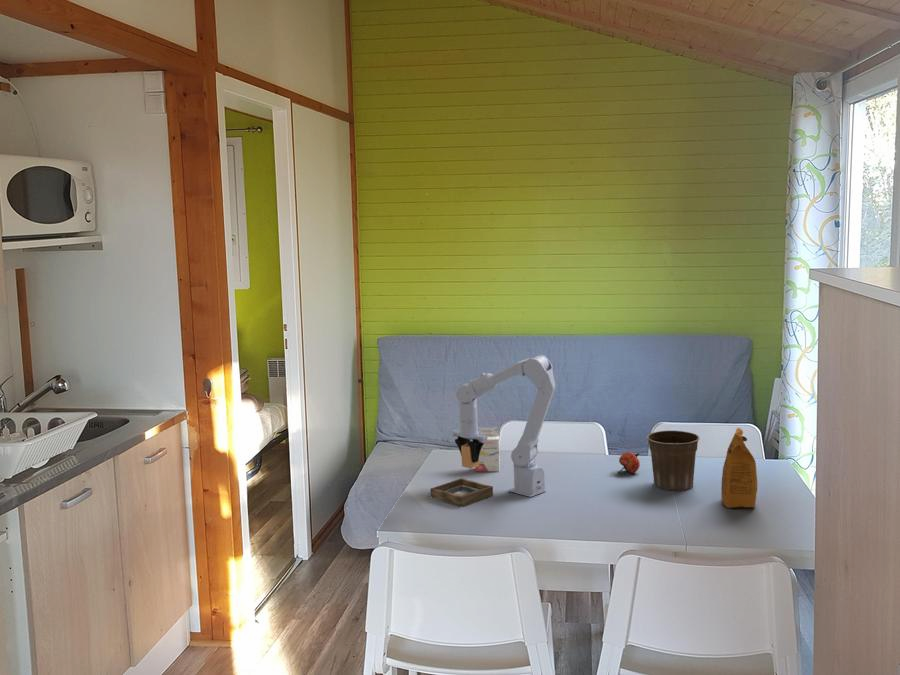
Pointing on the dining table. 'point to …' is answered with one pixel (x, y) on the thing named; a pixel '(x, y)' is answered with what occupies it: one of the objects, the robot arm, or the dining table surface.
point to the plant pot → (673, 459)
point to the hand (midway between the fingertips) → (470, 460)
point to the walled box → (462, 492)
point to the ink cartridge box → (489, 451)
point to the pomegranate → (629, 462)
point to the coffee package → (739, 474)
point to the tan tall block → (467, 457)
